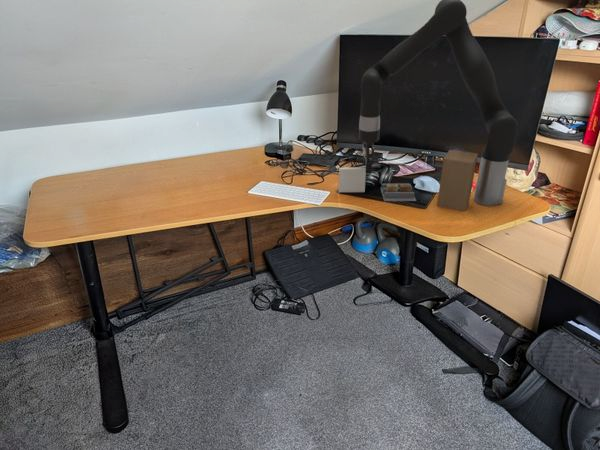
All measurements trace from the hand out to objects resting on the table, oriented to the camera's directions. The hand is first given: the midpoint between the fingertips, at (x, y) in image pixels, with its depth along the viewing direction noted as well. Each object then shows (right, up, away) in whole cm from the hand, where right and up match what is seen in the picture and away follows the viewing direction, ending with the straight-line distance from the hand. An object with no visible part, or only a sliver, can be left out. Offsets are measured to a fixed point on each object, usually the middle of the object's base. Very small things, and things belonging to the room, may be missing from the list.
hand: (367, 169), depth 174 cm
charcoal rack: (+12, -11, +2) cm, 16 cm away
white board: (-5, -9, +5) cm, 12 cm away
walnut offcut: (+14, -10, 0) cm, 18 cm away
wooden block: (+31, -15, -5) cm, 35 cm away
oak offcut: (+9, -10, +1) cm, 14 cm away
